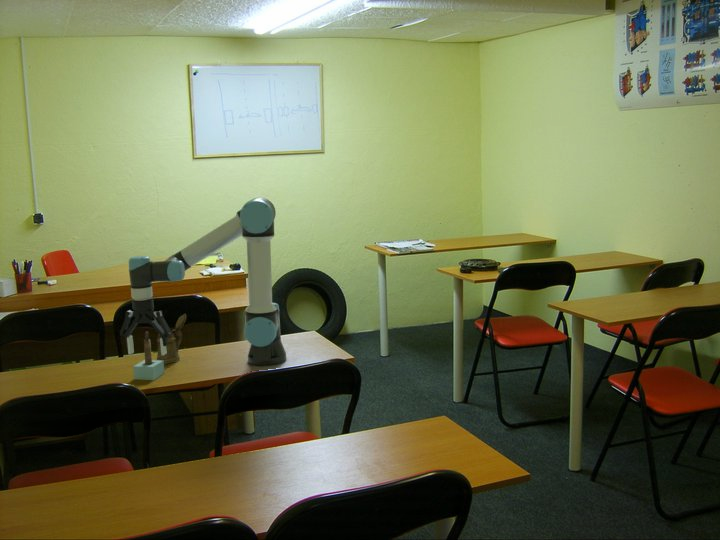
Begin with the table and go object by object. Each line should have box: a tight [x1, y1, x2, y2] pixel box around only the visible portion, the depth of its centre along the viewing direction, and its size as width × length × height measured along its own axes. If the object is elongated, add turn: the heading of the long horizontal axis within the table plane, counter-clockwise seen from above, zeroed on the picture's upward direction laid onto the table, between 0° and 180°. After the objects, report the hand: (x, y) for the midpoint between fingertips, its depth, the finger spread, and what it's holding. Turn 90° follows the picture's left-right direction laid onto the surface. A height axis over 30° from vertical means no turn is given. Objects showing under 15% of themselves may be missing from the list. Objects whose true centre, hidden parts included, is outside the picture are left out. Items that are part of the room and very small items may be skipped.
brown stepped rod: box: [143, 330, 153, 365], centre depth 260 cm, size 2×2×17 cm
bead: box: [132, 359, 165, 381], centre depth 261 cm, size 8×8×5 cm
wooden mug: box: [156, 313, 187, 365], centre depth 280 cm, size 9×14×18 cm, turn 125°
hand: (147, 354), depth 260 cm, fingers open, 13 cm apart
